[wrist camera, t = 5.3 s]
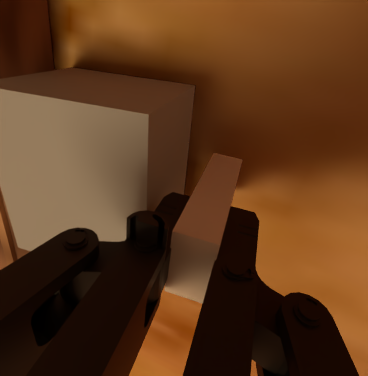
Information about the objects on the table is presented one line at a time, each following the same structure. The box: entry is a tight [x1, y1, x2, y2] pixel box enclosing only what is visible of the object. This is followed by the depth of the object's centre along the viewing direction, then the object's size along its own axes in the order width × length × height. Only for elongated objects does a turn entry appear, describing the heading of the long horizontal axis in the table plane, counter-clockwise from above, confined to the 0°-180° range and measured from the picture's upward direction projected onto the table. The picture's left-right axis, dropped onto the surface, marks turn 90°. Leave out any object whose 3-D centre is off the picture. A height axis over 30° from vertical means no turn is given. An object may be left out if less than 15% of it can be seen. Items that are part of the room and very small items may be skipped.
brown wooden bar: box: [0, 0, 54, 270], centre depth 16 cm, size 30×3×4 cm, turn 172°
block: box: [0, 68, 195, 251], centre depth 14 cm, size 8×7×6 cm
